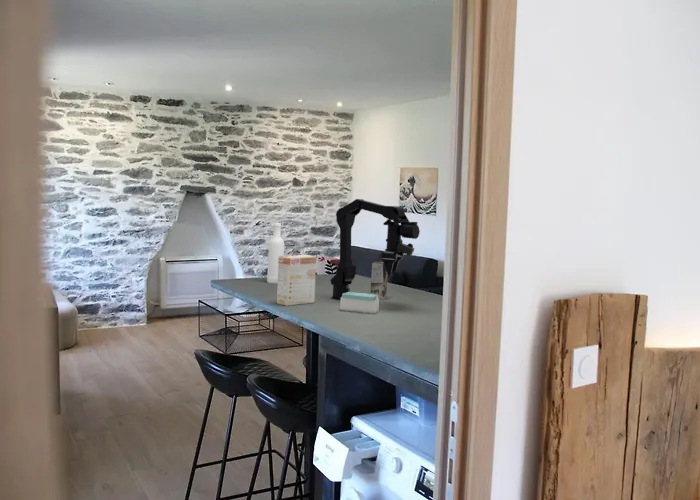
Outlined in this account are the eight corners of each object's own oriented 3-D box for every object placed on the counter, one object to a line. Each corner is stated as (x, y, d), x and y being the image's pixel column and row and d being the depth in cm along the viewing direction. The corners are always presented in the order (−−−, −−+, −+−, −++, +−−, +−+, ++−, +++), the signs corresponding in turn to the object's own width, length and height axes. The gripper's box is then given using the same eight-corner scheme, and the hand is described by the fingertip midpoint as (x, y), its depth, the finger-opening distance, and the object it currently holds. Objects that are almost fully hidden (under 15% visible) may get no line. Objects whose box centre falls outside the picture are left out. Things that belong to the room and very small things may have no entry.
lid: (342, 298, 240) (342, 294, 240) (347, 295, 247) (348, 291, 247) (372, 301, 237) (372, 297, 236) (377, 298, 244) (377, 294, 243)
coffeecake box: (304, 300, 260) (306, 254, 259) (315, 302, 255) (317, 256, 254) (275, 303, 250) (277, 255, 248) (286, 306, 245) (288, 257, 243)
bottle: (264, 282, 306) (267, 222, 303) (269, 280, 313) (271, 222, 311) (280, 284, 304) (283, 223, 302) (284, 282, 312) (287, 223, 310)
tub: (339, 310, 242) (340, 294, 241) (344, 307, 247) (345, 292, 247) (374, 313, 237) (375, 298, 237) (378, 311, 243) (379, 295, 242)
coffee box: (383, 299, 272) (386, 263, 271) (369, 298, 273) (371, 262, 272) (386, 296, 281) (388, 261, 280) (373, 295, 282) (374, 260, 281)
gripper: (409, 239, 242) (406, 278, 243) (417, 237, 260) (414, 273, 261) (381, 237, 245) (379, 276, 246) (391, 235, 263) (389, 271, 264)
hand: (391, 274), depth 254 cm, fingers open, 9 cm apart
